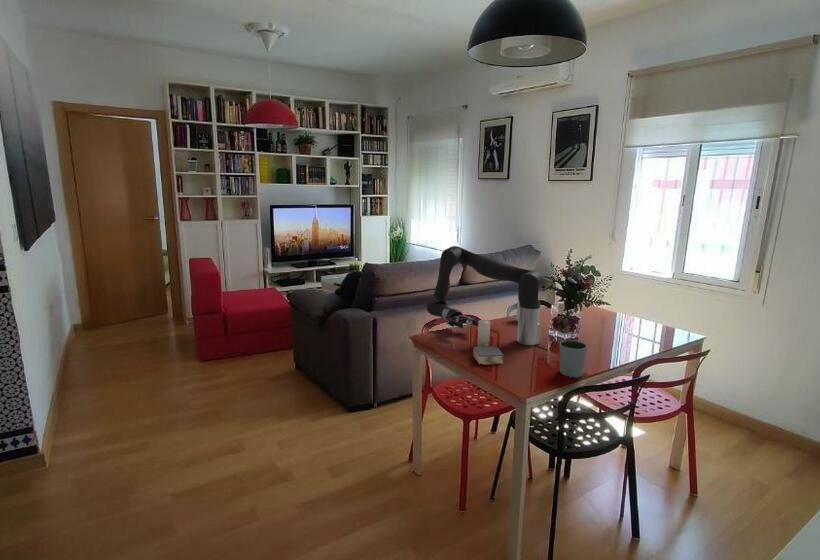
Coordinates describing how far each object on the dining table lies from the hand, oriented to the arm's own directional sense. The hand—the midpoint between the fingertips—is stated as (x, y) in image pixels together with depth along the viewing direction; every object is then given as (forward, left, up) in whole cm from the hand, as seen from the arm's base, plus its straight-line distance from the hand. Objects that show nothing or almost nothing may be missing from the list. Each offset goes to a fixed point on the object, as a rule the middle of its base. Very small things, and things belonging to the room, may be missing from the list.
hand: (470, 325), depth 214 cm
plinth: (-2, +26, -7) cm, 26 cm away
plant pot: (-31, +42, -7) cm, 52 cm away
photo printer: (-36, -23, -7) cm, 43 cm away
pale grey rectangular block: (-4, +11, -7) cm, 13 cm away
